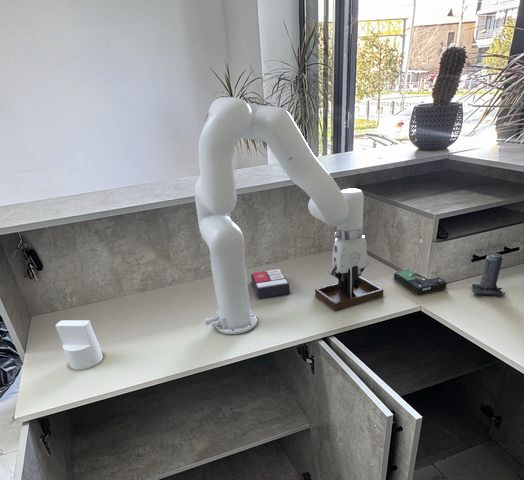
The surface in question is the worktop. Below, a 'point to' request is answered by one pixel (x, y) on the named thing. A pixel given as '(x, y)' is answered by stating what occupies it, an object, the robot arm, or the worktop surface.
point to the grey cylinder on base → (489, 277)
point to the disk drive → (419, 282)
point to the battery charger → (350, 281)
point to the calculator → (270, 283)
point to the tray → (339, 301)
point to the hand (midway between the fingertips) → (348, 288)
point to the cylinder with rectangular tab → (79, 343)
